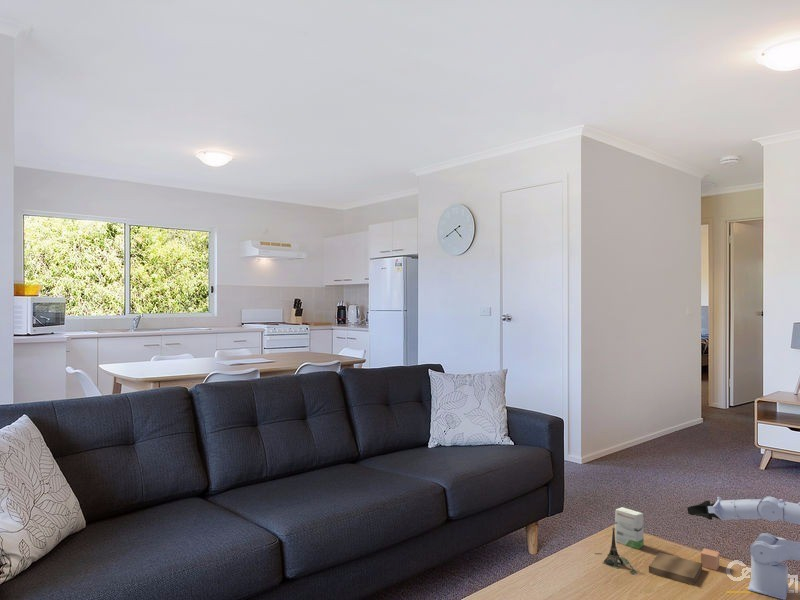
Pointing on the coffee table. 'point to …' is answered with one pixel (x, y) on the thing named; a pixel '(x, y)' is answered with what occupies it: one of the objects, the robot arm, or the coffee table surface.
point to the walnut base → (675, 568)
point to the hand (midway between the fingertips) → (692, 511)
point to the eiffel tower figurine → (616, 557)
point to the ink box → (629, 527)
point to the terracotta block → (710, 559)
